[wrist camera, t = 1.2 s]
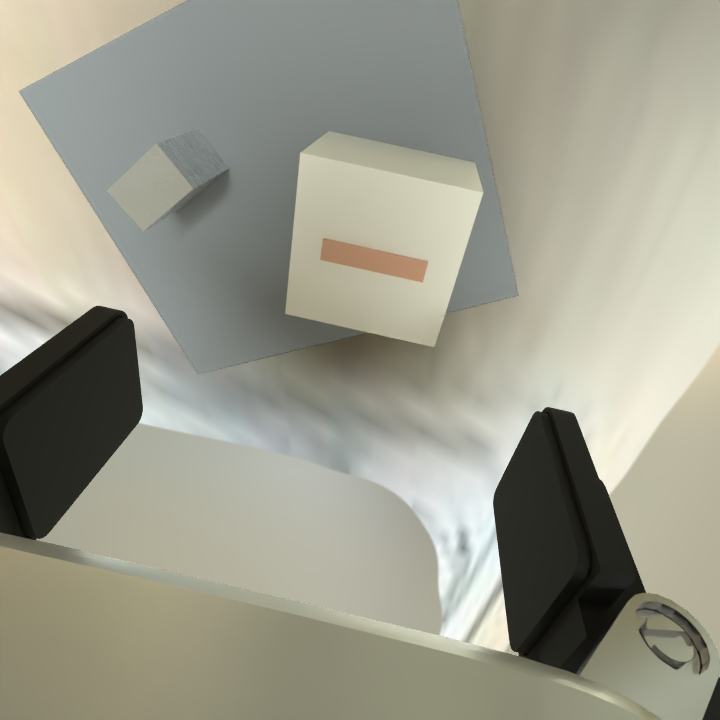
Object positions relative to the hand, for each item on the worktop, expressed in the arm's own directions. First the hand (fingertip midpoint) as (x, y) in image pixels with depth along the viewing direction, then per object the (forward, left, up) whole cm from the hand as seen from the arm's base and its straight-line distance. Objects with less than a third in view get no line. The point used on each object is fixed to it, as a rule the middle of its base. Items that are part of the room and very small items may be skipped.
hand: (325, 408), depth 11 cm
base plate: (+4, -3, -15) cm, 16 cm away
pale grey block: (+8, -5, -14) cm, 16 cm away
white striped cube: (0, 0, -14) cm, 14 cm away
